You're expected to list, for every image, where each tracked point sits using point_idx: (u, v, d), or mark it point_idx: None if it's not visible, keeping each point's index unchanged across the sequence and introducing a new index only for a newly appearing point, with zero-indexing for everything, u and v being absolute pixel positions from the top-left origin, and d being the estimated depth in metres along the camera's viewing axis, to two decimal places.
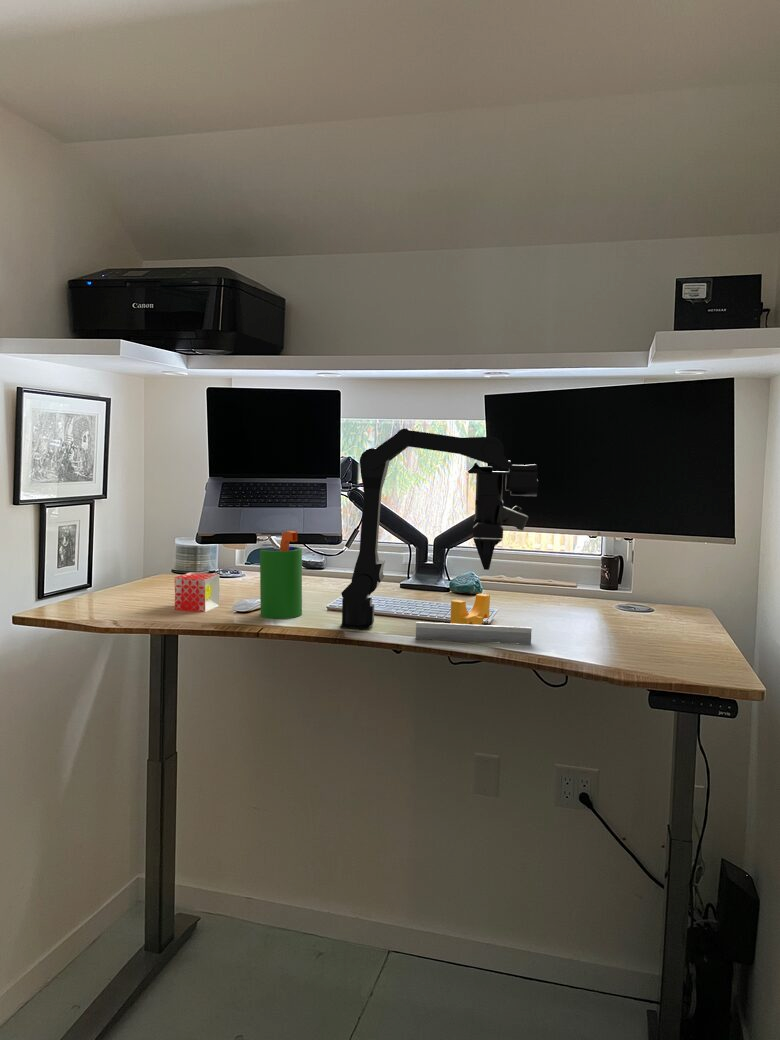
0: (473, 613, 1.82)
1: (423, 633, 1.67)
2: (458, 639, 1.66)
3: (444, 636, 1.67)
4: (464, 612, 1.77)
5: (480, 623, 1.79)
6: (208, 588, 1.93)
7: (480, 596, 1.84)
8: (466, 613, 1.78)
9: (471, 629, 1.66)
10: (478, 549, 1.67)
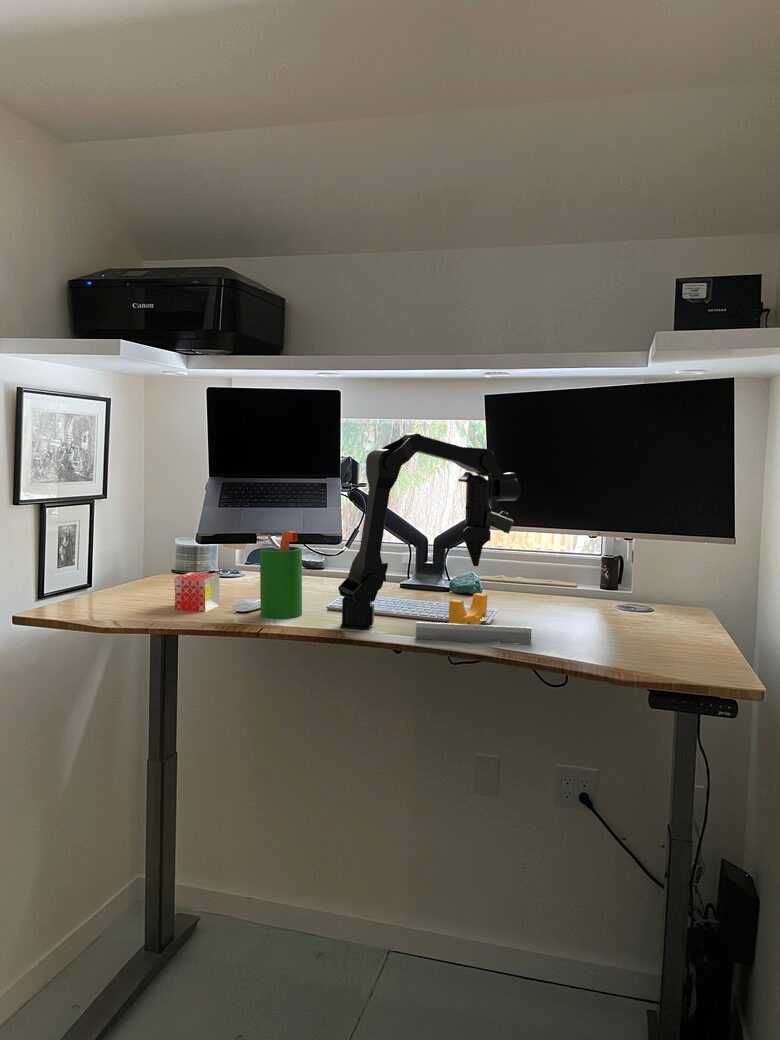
0: (470, 612, 1.83)
1: (423, 633, 1.67)
2: (458, 639, 1.66)
3: (444, 636, 1.67)
4: (462, 612, 1.77)
5: (478, 622, 1.80)
6: (208, 588, 1.93)
7: (477, 596, 1.85)
8: (464, 613, 1.78)
9: (471, 629, 1.66)
10: (468, 548, 1.89)
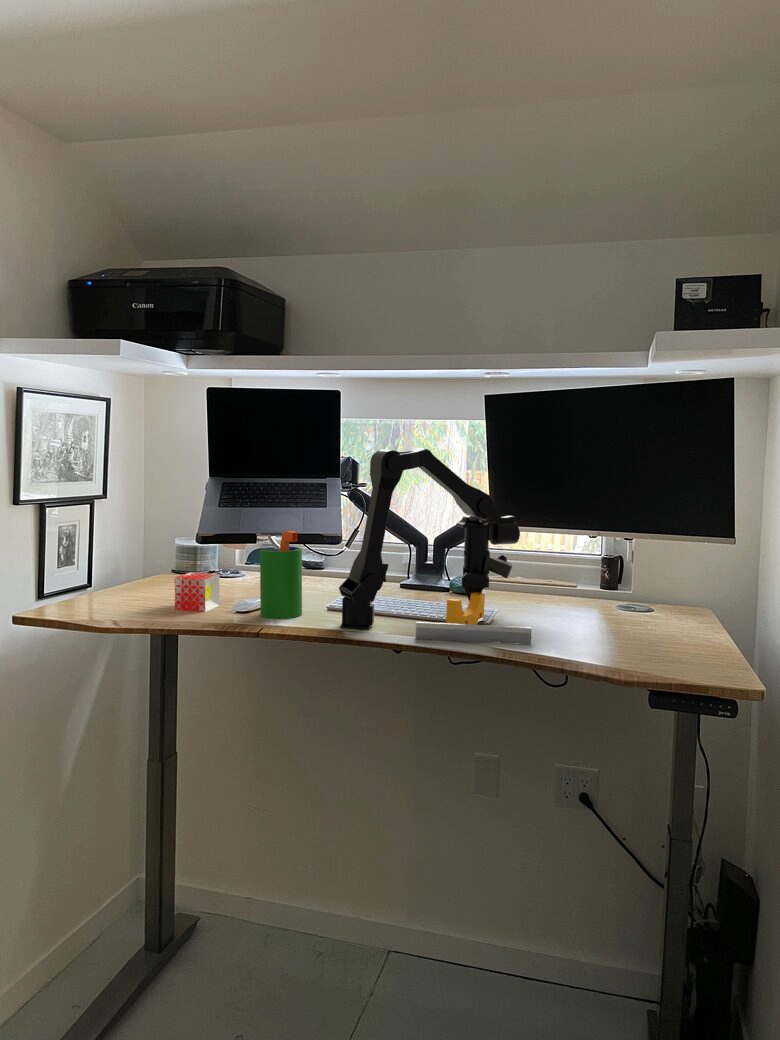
0: (468, 612, 1.83)
1: (423, 633, 1.67)
2: (458, 639, 1.66)
3: (444, 636, 1.67)
4: (460, 611, 1.77)
5: (476, 622, 1.79)
6: (208, 588, 1.93)
7: (475, 595, 1.84)
8: (462, 612, 1.78)
9: (471, 629, 1.66)
10: (467, 593, 1.88)
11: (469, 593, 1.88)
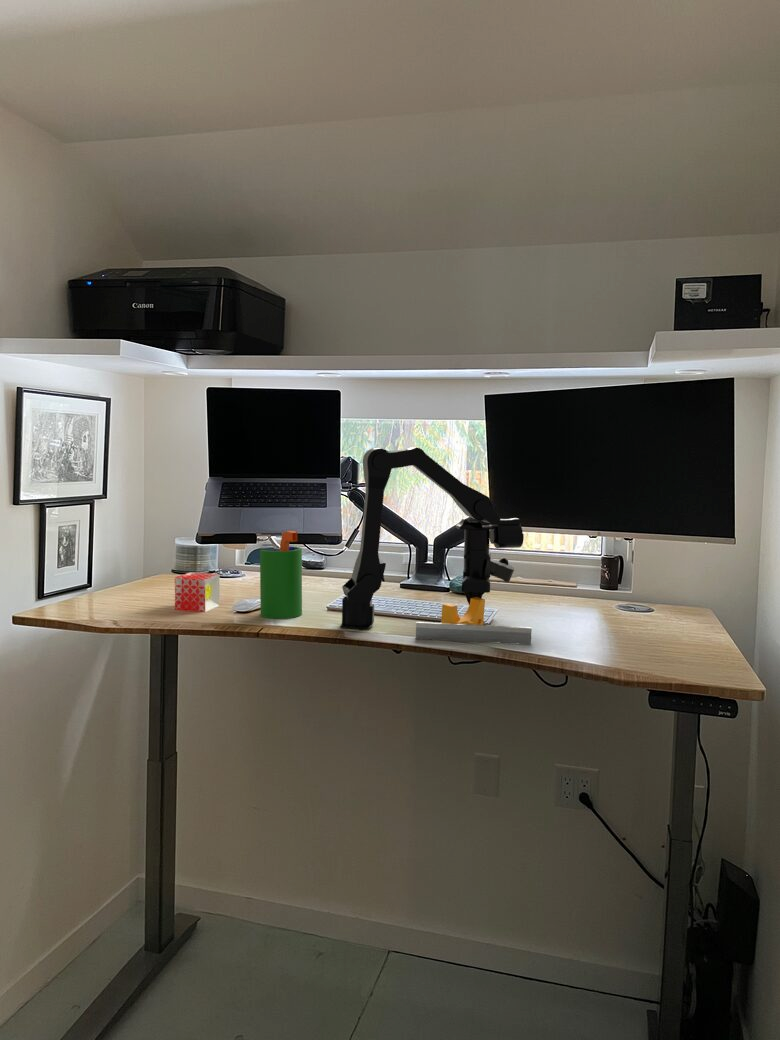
0: (466, 617, 1.76)
1: (423, 633, 1.67)
2: (458, 639, 1.66)
3: (444, 636, 1.67)
4: (455, 616, 1.71)
5: None
6: (208, 588, 1.93)
7: (475, 600, 1.78)
8: (457, 618, 1.72)
9: (471, 629, 1.66)
10: (467, 597, 1.81)
11: (469, 598, 1.81)
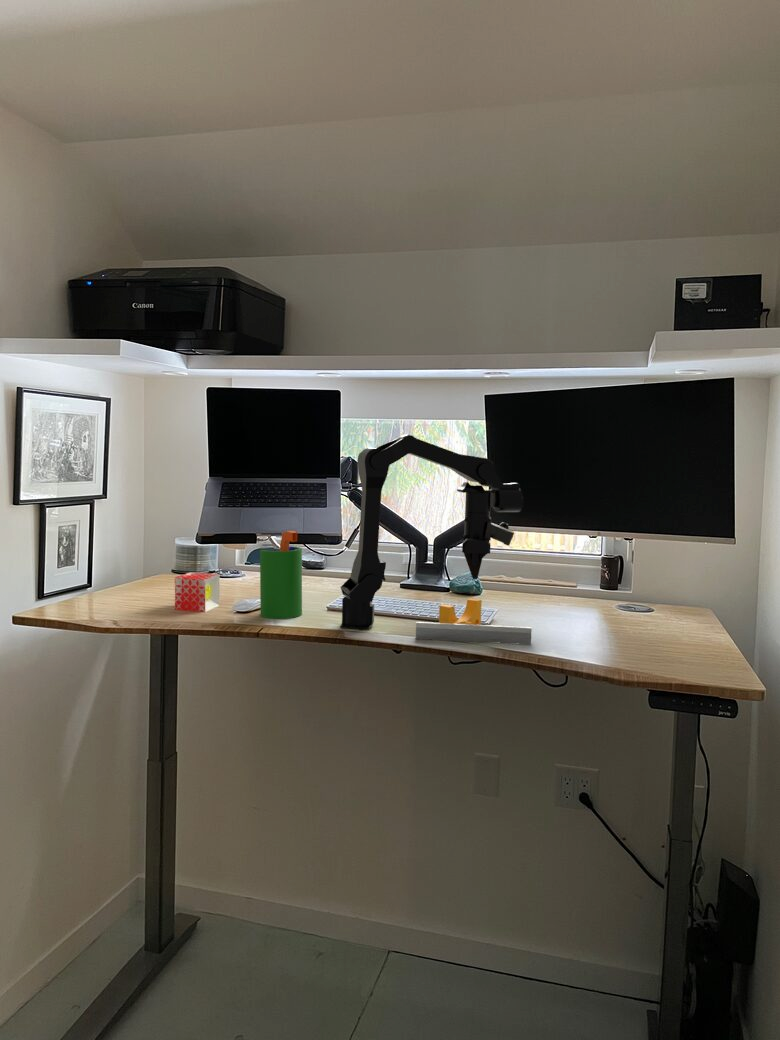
0: (463, 618, 1.77)
1: (423, 633, 1.67)
2: (458, 639, 1.66)
3: (444, 636, 1.67)
4: (453, 617, 1.71)
5: None
6: (208, 588, 1.93)
7: (471, 601, 1.78)
8: (455, 618, 1.72)
9: (471, 629, 1.66)
10: (467, 560, 1.83)
11: (470, 561, 1.83)
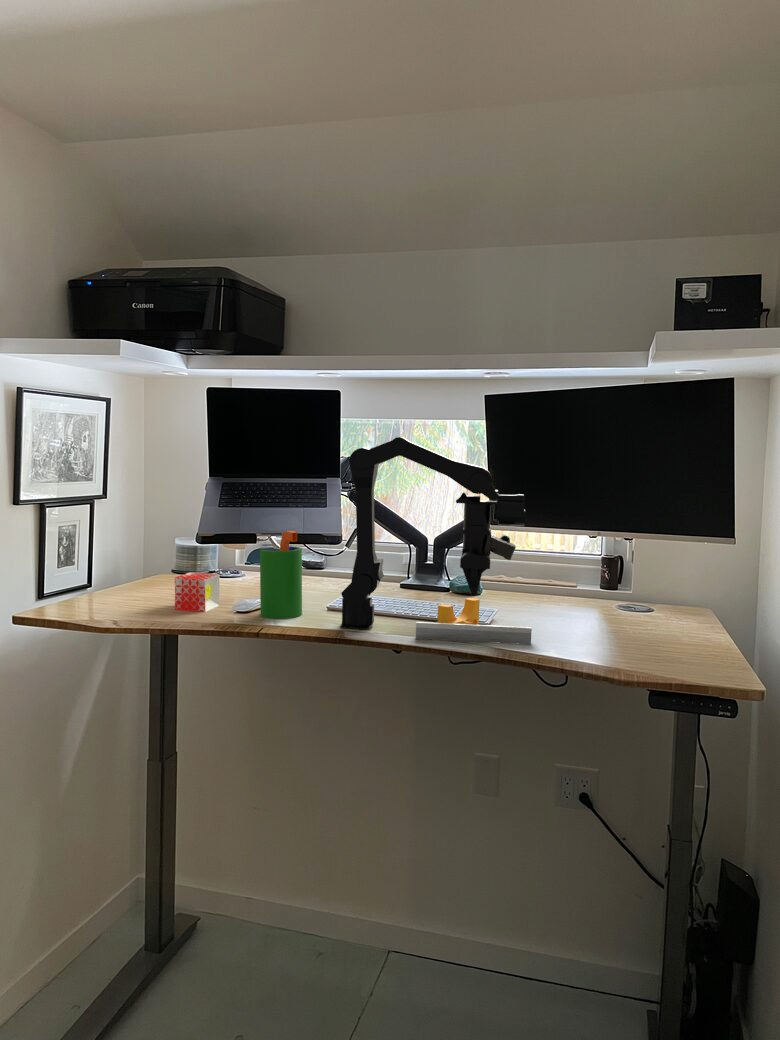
0: (461, 618, 1.77)
1: (423, 633, 1.67)
2: (458, 639, 1.66)
3: (444, 636, 1.67)
4: (451, 617, 1.72)
5: None
6: (208, 588, 1.93)
7: (469, 600, 1.79)
8: (453, 618, 1.72)
9: (471, 629, 1.66)
10: (466, 576, 1.72)
11: (468, 576, 1.72)
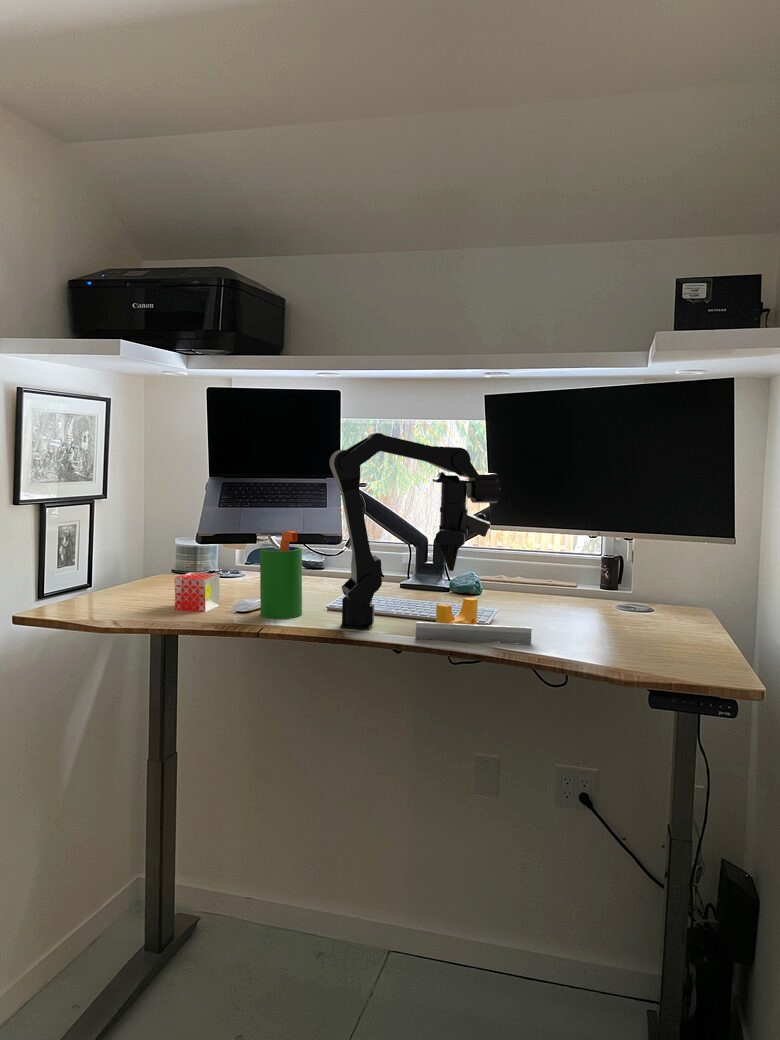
0: (460, 617, 1.77)
1: (423, 633, 1.67)
2: (458, 639, 1.66)
3: (444, 636, 1.67)
4: (450, 617, 1.72)
5: None
6: (208, 588, 1.93)
7: (467, 600, 1.79)
8: (452, 618, 1.73)
9: (471, 629, 1.66)
10: (443, 552, 1.80)
11: (445, 552, 1.80)
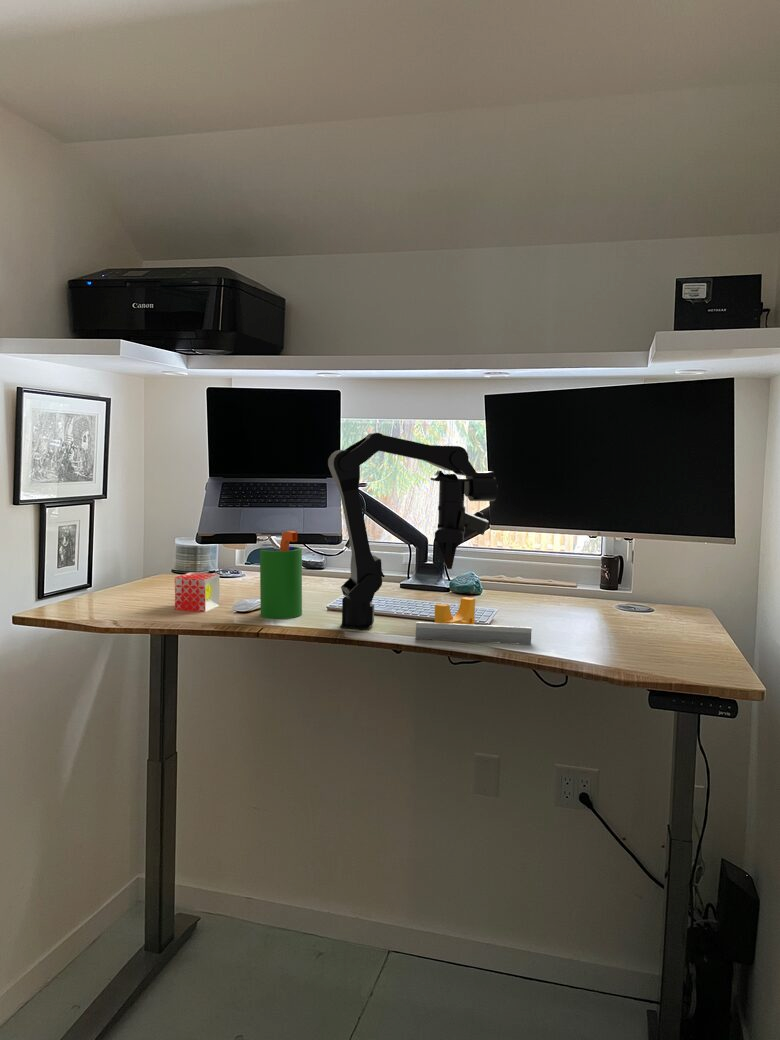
0: (458, 617, 1.78)
1: (423, 633, 1.67)
2: (458, 639, 1.66)
3: (444, 636, 1.67)
4: (448, 616, 1.72)
5: None
6: (208, 588, 1.93)
7: (465, 600, 1.80)
8: (450, 617, 1.73)
9: (471, 629, 1.66)
10: (441, 550, 1.80)
11: (443, 550, 1.80)
